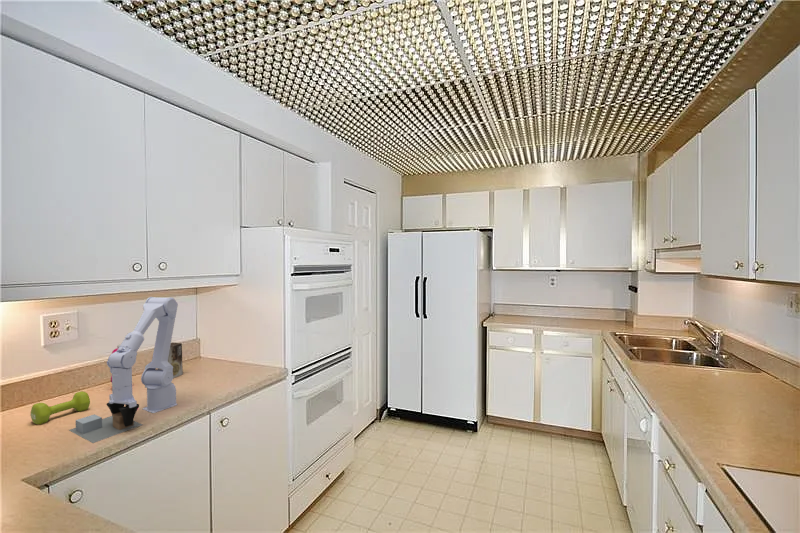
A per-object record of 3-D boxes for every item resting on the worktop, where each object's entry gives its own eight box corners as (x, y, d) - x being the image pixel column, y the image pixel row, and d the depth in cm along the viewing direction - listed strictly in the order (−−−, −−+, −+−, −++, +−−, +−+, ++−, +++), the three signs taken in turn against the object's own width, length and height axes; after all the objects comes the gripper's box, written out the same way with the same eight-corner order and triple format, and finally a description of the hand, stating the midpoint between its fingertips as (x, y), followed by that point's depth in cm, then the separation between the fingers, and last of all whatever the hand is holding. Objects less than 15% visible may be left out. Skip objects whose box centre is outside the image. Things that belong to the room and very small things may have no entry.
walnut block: (127, 422, 138) (126, 409, 138) (133, 424, 136) (133, 412, 136) (112, 427, 134) (112, 414, 134) (119, 430, 132) (119, 417, 132)
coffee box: (172, 373, 194) (172, 342, 193) (183, 374, 192) (182, 342, 191) (157, 379, 185) (156, 346, 184) (168, 380, 183) (167, 347, 183)
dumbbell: (82, 406, 153) (82, 389, 152) (92, 410, 149) (92, 392, 149) (28, 423, 138) (27, 403, 138) (38, 427, 134) (37, 407, 134)
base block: (94, 423, 136) (94, 414, 136) (102, 427, 134) (101, 417, 134) (75, 430, 132) (75, 420, 132) (83, 433, 129) (82, 423, 129)
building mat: (117, 414, 145) (117, 413, 145) (143, 425, 136) (143, 424, 136) (68, 431, 132) (68, 430, 132) (93, 444, 123) (93, 443, 123)
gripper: (99, 385, 134) (100, 422, 135) (119, 392, 127) (120, 432, 128) (121, 379, 140) (122, 415, 141) (142, 386, 133) (143, 424, 134)
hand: (123, 423), depth 135 cm, fingers open, 7 cm apart
